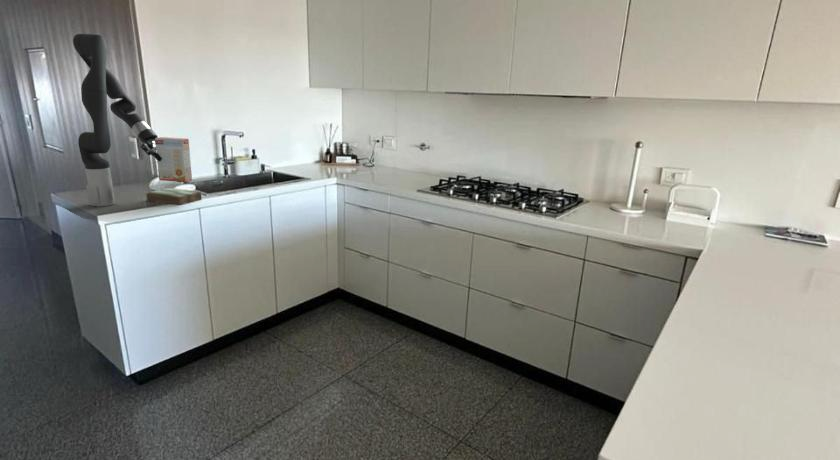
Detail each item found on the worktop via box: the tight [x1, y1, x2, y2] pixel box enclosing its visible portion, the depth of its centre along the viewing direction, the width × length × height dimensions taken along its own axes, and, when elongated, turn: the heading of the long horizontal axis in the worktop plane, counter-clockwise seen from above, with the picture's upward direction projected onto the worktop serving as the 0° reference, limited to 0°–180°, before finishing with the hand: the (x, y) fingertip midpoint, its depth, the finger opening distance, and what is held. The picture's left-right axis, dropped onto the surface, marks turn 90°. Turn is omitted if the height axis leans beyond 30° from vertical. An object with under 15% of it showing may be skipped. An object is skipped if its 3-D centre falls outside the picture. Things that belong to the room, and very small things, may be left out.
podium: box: [146, 187, 202, 206], centre depth 227 cm, size 14×20×4 cm
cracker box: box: [155, 136, 193, 183], centre depth 223 cm, size 14×6×21 cm, turn 83°
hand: (166, 159), depth 223 cm, fingers closed on cracker box, 6 cm apart
